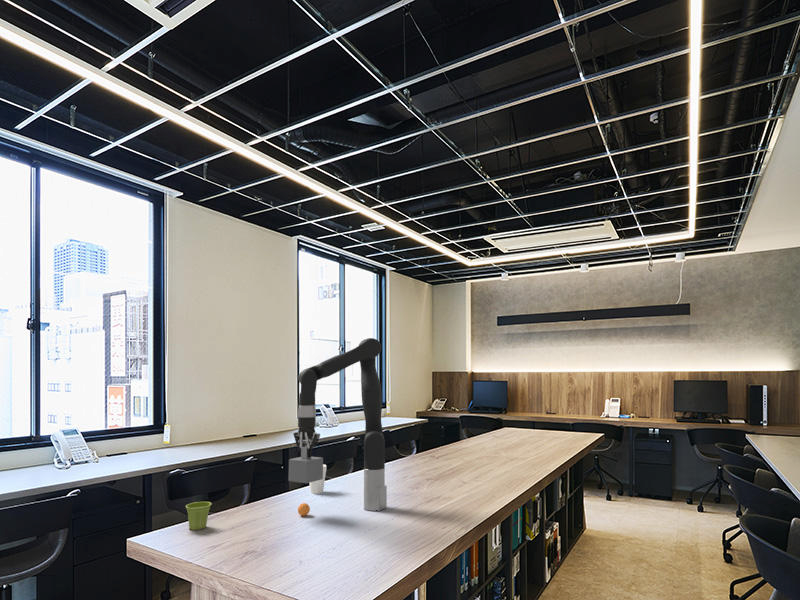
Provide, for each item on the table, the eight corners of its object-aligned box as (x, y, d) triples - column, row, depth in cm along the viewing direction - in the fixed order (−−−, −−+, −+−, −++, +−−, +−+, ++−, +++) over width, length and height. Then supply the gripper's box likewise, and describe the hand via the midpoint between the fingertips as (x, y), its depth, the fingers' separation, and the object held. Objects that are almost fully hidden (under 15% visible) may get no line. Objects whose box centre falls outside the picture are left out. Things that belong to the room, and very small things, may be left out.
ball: (312, 502, 215) (303, 502, 218) (303, 504, 211) (295, 504, 213) (312, 514, 214) (303, 514, 216) (304, 517, 210) (295, 516, 212)
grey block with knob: (322, 479, 217) (323, 445, 219) (306, 483, 208) (307, 448, 210) (304, 476, 222) (305, 444, 224) (288, 480, 214) (289, 447, 216)
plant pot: (206, 531, 193) (207, 507, 195) (181, 532, 193) (182, 508, 194) (213, 524, 203) (214, 501, 204) (189, 524, 202) (190, 502, 203)
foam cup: (322, 495, 248) (322, 467, 250) (304, 494, 250) (304, 467, 252) (328, 490, 258) (328, 464, 260) (311, 490, 259) (311, 463, 261)
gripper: (325, 415, 219) (324, 457, 216) (300, 414, 226) (300, 454, 224) (313, 417, 212) (312, 459, 210) (288, 415, 220) (288, 456, 217)
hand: (306, 456), depth 217 cm, fingers closed on grey block with knob, 3 cm apart
